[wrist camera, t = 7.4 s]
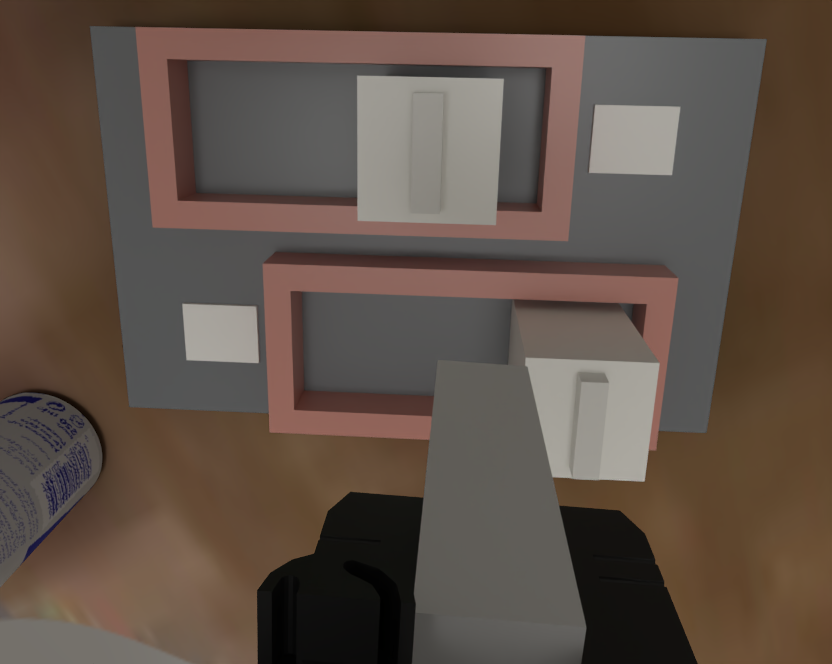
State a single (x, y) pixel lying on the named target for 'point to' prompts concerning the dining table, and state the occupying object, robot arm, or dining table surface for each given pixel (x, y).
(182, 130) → the switch bank
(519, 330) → the block
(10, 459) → the beverage can
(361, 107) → the tab inner
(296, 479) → the dining table surface
